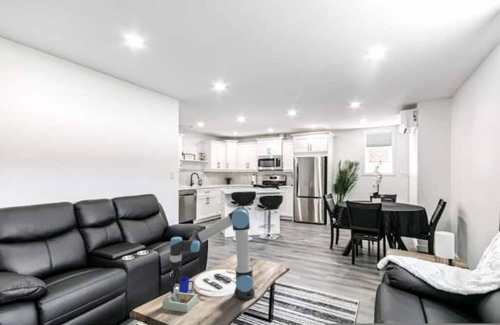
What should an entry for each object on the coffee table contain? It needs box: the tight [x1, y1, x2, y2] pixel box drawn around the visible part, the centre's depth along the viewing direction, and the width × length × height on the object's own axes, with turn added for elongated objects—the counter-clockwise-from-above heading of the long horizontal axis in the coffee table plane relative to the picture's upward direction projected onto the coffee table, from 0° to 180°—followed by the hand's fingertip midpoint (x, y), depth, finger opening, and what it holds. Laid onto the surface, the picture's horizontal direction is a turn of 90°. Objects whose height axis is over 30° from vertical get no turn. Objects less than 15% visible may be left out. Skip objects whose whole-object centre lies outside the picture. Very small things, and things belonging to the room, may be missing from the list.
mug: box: [179, 276, 194, 293], centre depth 194 cm, size 8×12×10 cm
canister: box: [171, 286, 179, 300], centre depth 177 cm, size 5×5×7 cm
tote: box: [162, 292, 198, 313], centre depth 176 cm, size 18×14×5 cm
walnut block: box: [180, 295, 191, 304], centre depth 175 cm, size 5×5×5 cm
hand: (174, 295), depth 177 cm, fingers closed on canister, 5 cm apart
